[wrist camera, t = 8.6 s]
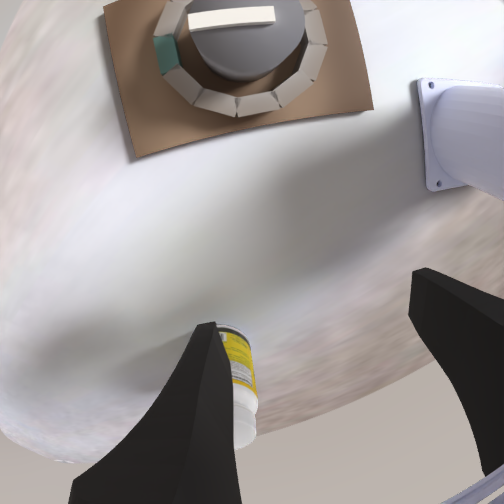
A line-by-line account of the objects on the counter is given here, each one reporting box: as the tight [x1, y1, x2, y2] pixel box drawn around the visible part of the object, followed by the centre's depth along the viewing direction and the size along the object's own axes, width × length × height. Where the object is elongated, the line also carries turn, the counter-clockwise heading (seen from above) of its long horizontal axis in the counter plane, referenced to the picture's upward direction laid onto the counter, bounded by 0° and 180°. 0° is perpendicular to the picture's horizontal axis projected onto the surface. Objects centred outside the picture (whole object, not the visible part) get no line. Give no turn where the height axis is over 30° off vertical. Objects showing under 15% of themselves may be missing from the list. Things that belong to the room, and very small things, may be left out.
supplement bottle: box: [217, 325, 258, 450], centre depth 19 cm, size 5×5×8 cm
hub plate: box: [103, 0, 374, 158], centre depth 13 cm, size 14×10×2 cm
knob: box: [188, 0, 305, 83], centre depth 11 cm, size 4×4×5 cm
